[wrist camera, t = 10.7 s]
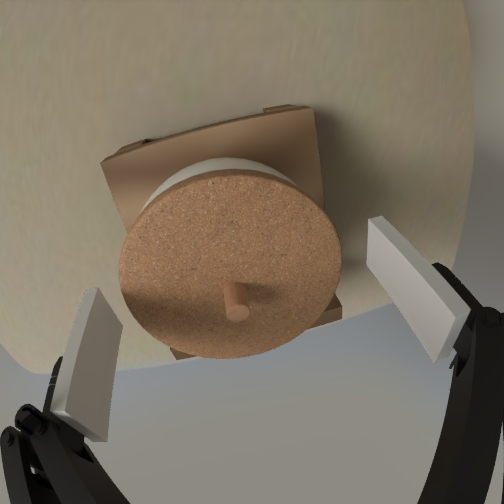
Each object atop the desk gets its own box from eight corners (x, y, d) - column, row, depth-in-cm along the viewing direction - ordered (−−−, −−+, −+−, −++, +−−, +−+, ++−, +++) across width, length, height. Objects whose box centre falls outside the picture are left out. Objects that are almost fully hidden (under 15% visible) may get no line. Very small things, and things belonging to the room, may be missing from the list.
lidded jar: (118, 237, 20) (80, 335, 12) (203, 105, 16) (205, 125, 8) (237, 299, 24) (256, 398, 16) (327, 199, 21) (397, 277, 13)
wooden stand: (116, 149, 20) (84, 177, 14) (294, 103, 20) (332, 113, 14) (178, 304, 29) (176, 360, 23) (315, 270, 29) (341, 318, 23)
